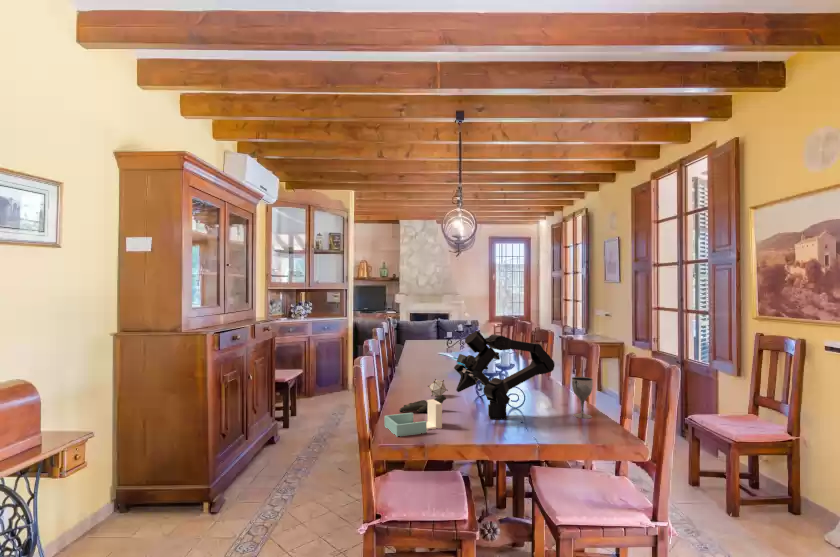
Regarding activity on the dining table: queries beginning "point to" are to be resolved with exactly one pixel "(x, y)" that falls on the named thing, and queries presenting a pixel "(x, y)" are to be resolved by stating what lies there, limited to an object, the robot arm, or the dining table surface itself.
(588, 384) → the wine glass
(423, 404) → the statue
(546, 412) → the dining table surface
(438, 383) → the game die
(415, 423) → the box
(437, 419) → the bookend
